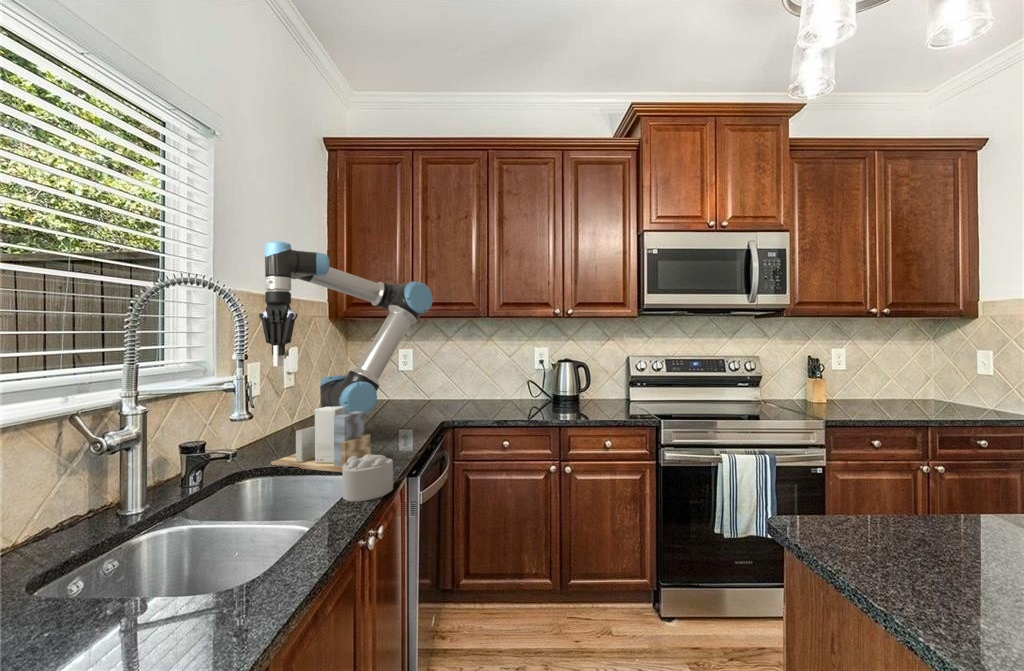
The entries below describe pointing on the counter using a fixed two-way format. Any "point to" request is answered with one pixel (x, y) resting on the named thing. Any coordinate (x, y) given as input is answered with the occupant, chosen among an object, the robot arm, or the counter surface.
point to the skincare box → (325, 433)
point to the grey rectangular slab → (305, 444)
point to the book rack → (339, 444)
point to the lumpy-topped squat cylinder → (367, 477)
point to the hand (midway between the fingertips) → (278, 365)
